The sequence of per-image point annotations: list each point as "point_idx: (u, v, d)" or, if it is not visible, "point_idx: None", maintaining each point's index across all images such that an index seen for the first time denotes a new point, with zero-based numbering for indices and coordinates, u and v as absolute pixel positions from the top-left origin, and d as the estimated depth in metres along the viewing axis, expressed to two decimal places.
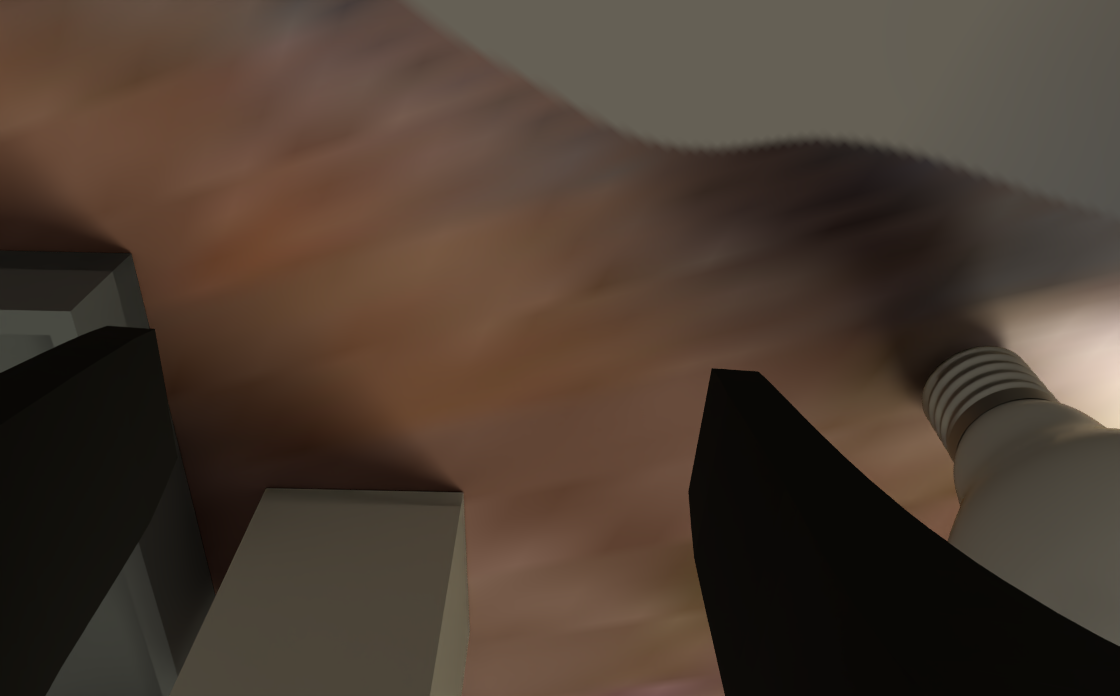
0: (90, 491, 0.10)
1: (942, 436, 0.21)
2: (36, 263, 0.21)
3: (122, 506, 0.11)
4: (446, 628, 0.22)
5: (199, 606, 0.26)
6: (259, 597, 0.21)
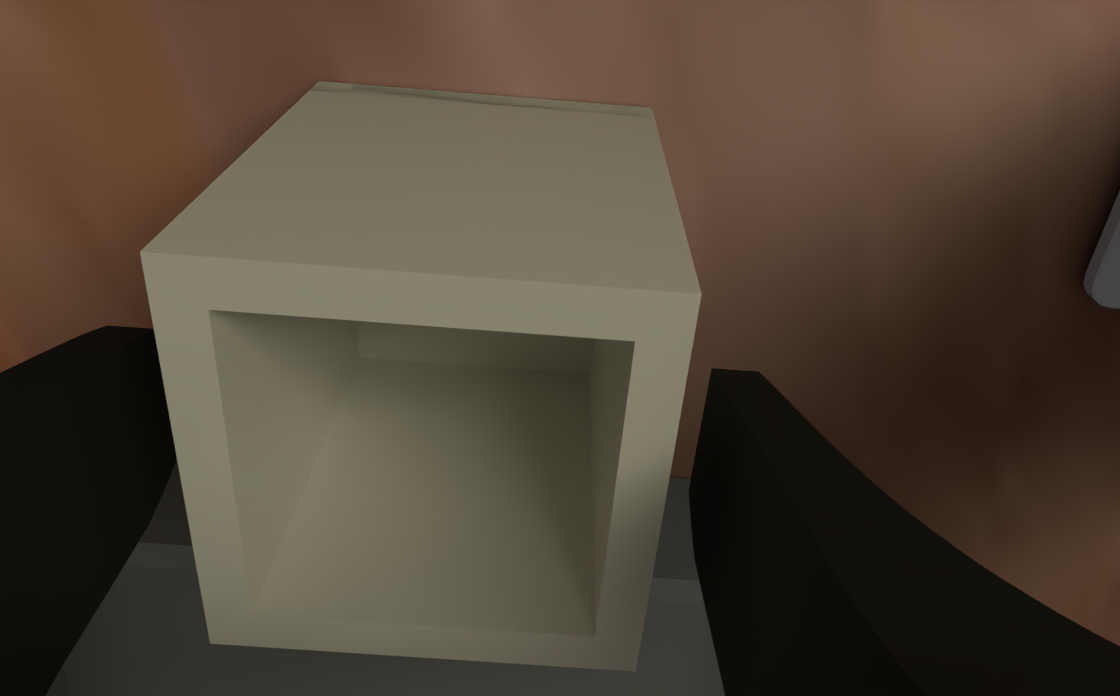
0: (90, 491, 0.10)
1: None
2: None
3: (122, 506, 0.11)
4: (298, 166, 0.11)
5: None
6: None
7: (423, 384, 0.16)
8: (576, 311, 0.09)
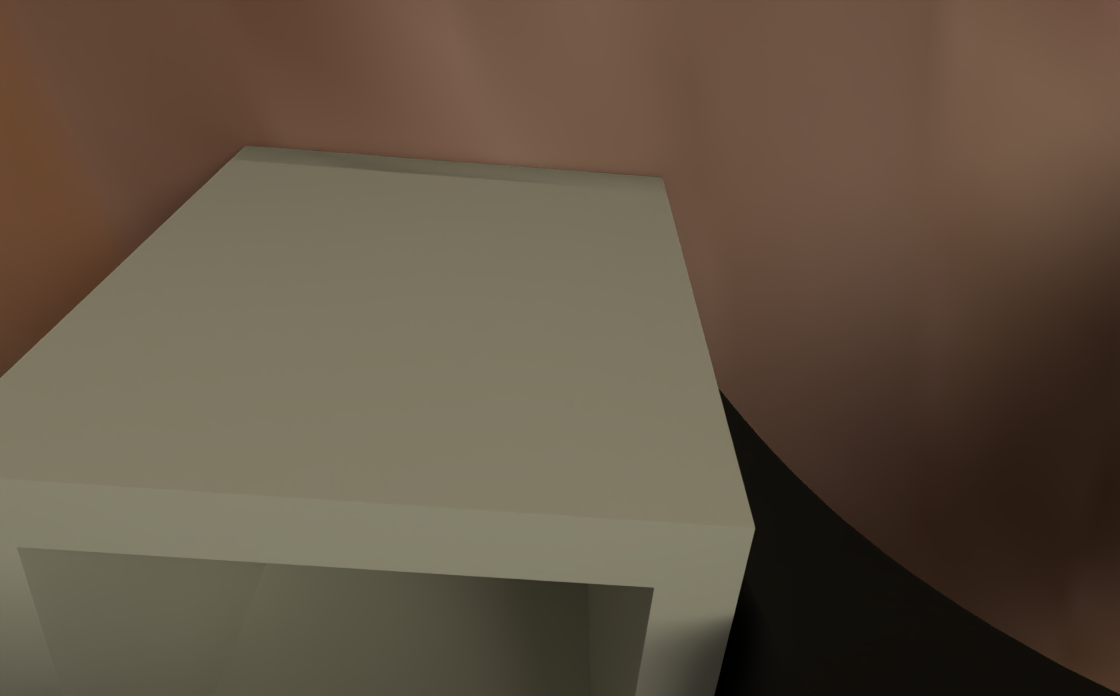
0: None
1: None
2: None
3: None
4: (188, 290, 0.08)
5: None
6: None
7: None
8: (567, 550, 0.06)
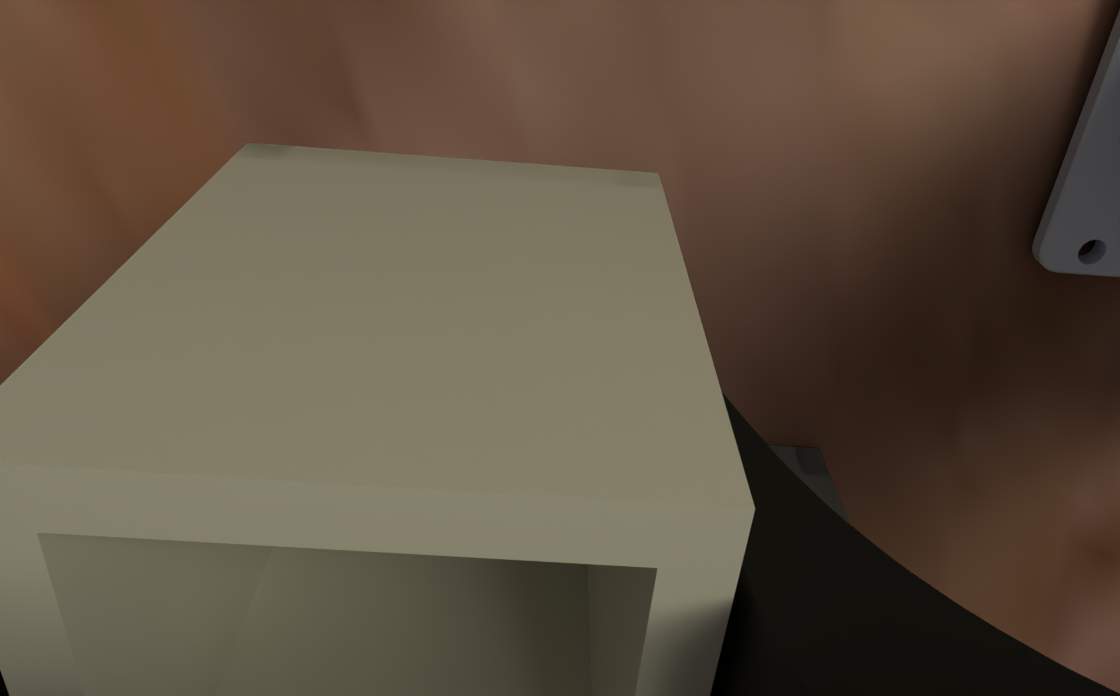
0: None
1: None
2: None
3: None
4: (196, 284, 0.08)
5: None
6: None
7: None
8: (573, 532, 0.06)
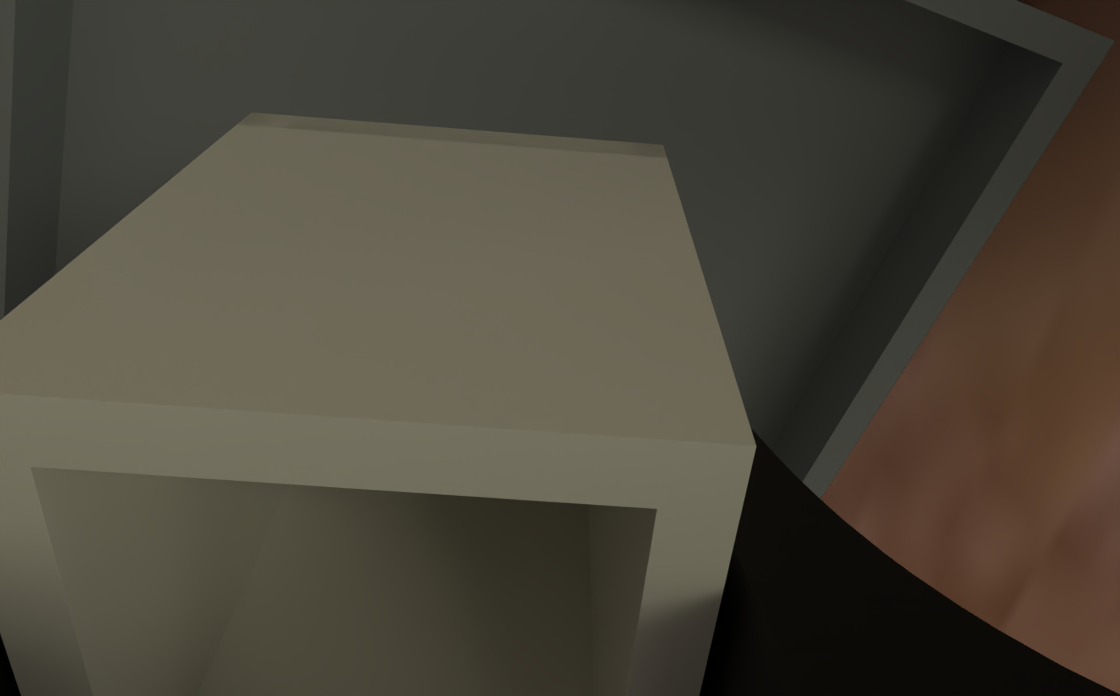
0: None
1: None
2: None
3: None
4: (196, 236, 0.08)
5: None
6: None
7: None
8: (571, 469, 0.06)
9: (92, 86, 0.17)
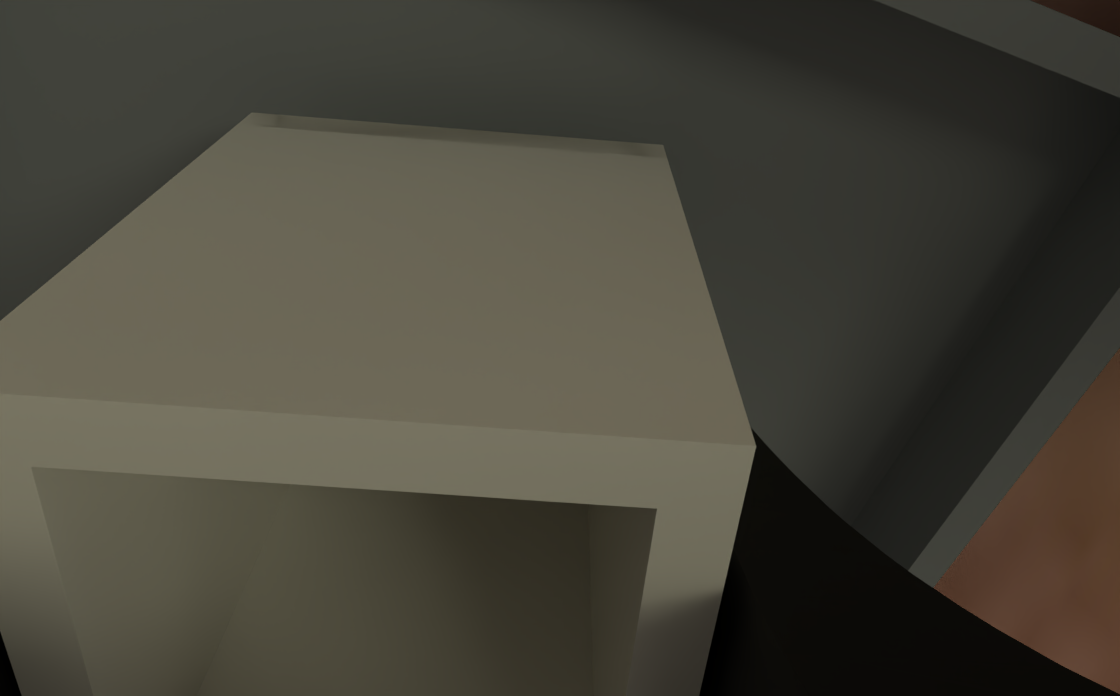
0: None
1: None
2: None
3: None
4: (197, 236, 0.08)
5: None
6: None
7: None
8: (572, 469, 0.06)
9: None
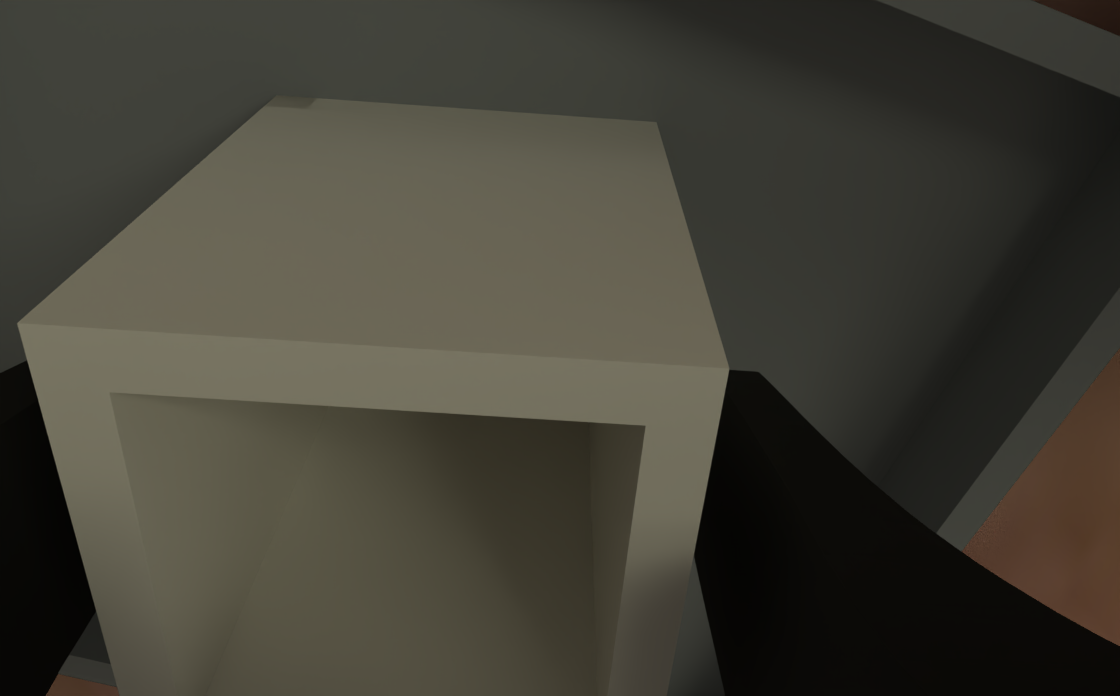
0: None
1: None
2: None
3: None
4: (238, 202, 0.09)
5: None
6: None
7: (401, 435, 0.14)
8: (571, 391, 0.07)
9: None
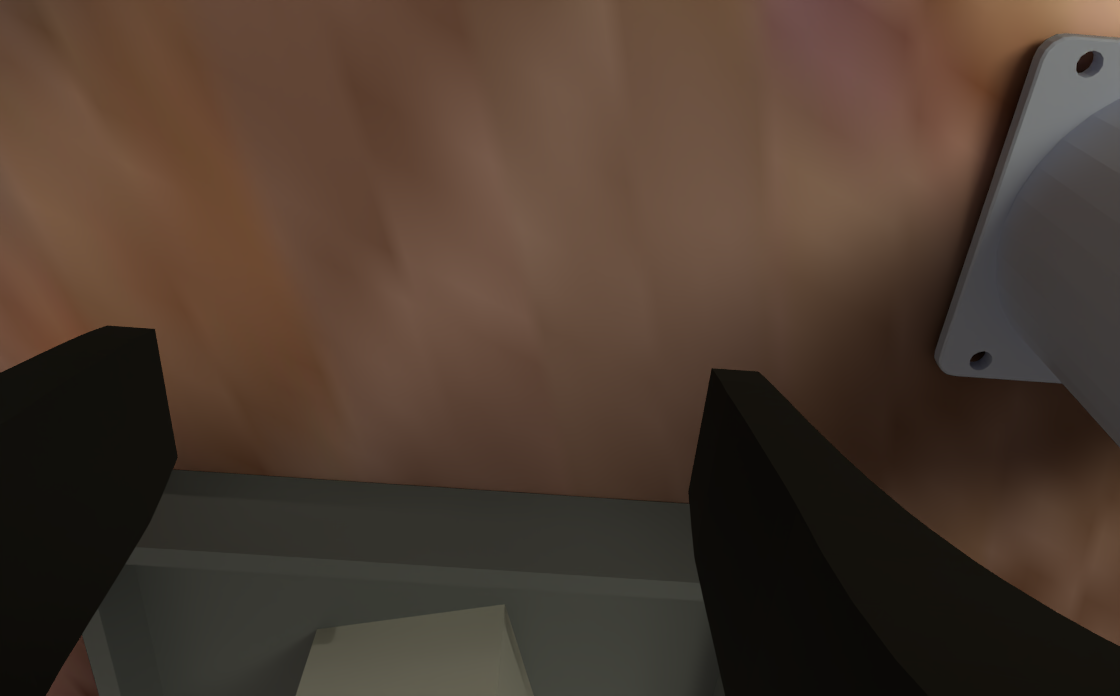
0: (90, 491, 0.10)
1: None
2: None
3: (122, 506, 0.11)
4: None
5: (510, 516, 0.23)
6: None
7: None
8: None
9: (175, 679, 0.27)
